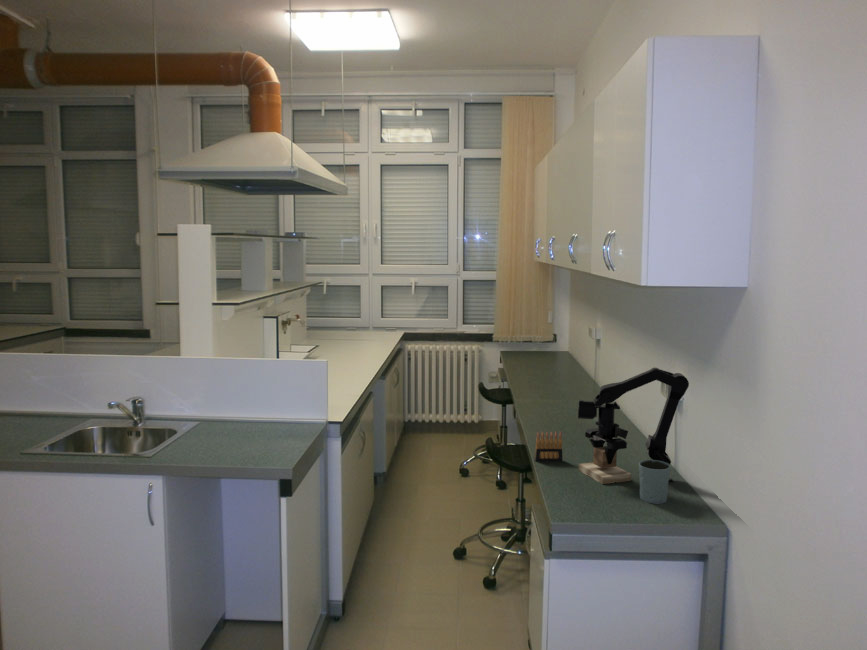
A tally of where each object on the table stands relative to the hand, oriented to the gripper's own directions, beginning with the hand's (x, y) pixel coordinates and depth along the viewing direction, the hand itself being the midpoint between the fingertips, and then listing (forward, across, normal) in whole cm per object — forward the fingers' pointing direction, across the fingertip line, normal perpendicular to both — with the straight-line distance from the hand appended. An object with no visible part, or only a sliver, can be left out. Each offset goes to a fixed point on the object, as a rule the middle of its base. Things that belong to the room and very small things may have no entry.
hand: (604, 461), depth 249 cm
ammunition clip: (+6, +22, +11) cm, 25 cm away
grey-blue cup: (+6, -26, -2) cm, 27 cm away
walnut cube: (+1, 0, 0) cm, 1 cm away
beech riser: (+5, 0, 0) cm, 5 cm away
